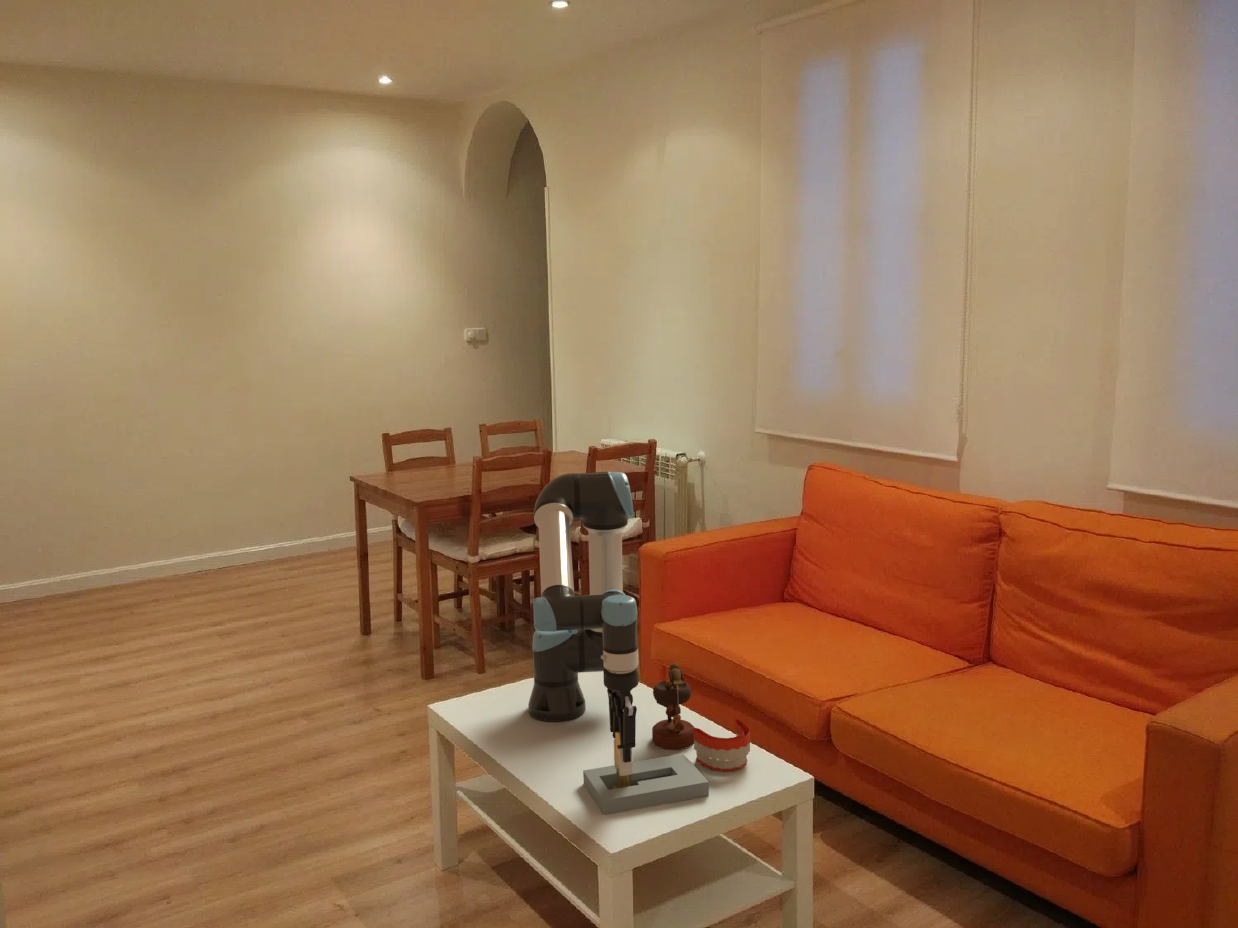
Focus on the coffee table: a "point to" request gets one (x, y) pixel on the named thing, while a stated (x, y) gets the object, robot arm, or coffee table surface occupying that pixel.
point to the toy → (723, 749)
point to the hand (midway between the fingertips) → (623, 770)
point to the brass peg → (621, 780)
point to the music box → (673, 712)
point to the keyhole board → (646, 784)
